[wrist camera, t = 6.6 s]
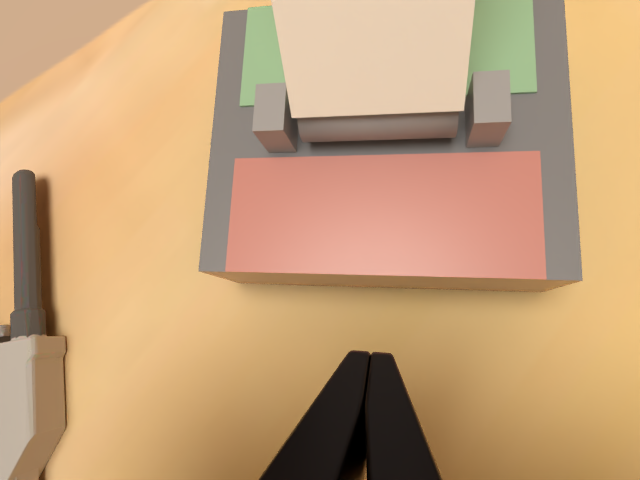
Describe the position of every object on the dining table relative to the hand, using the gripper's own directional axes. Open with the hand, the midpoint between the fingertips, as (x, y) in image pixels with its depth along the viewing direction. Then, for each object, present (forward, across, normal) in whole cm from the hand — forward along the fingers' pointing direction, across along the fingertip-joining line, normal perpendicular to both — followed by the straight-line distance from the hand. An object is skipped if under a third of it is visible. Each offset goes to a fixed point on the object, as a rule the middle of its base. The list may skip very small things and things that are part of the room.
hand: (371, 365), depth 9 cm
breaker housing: (+12, 0, +1) cm, 12 cm away
